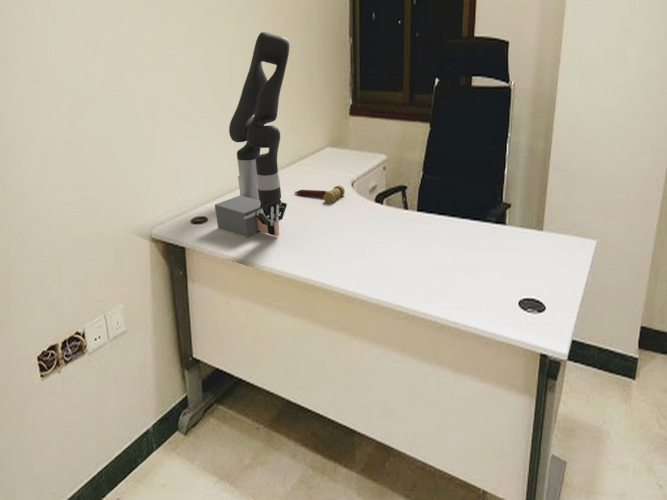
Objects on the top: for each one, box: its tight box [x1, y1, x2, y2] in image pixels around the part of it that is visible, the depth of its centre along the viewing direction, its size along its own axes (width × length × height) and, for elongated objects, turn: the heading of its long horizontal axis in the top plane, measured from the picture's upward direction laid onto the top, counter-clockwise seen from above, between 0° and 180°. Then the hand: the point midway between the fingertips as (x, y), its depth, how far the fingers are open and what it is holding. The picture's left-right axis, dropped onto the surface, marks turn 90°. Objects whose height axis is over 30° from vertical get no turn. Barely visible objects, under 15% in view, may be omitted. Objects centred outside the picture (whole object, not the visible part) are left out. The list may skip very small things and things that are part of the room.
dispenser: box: [214, 195, 264, 238], centre depth 202 cm, size 17×13×9 cm
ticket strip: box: [255, 215, 280, 237], centre depth 200 cm, size 23×1×5 cm, turn 50°
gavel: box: [294, 185, 346, 204], centre depth 231 cm, size 21×5×10 cm
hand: (273, 233), depth 195 cm, fingers closed
